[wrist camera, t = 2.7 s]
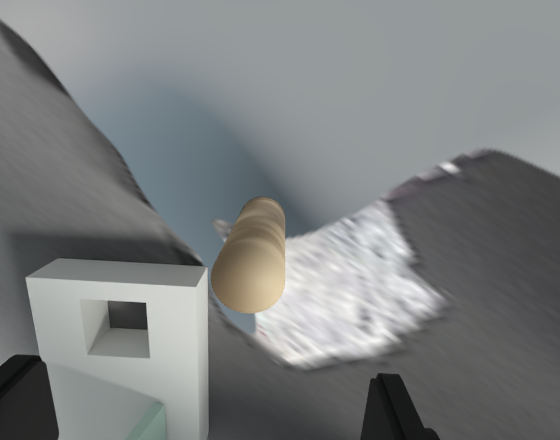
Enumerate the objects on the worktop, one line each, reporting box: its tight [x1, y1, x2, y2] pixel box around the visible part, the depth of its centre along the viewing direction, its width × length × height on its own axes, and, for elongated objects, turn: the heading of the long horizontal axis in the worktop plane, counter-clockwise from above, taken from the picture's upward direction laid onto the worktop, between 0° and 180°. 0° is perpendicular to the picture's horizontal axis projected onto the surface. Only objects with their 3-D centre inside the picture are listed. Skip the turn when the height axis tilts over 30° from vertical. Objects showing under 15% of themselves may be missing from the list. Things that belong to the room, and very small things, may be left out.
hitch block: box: [25, 258, 209, 440], centre depth 31 cm, size 14×20×4 cm
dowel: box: [211, 197, 285, 313], centre depth 23 cm, size 4×4×12 cm
